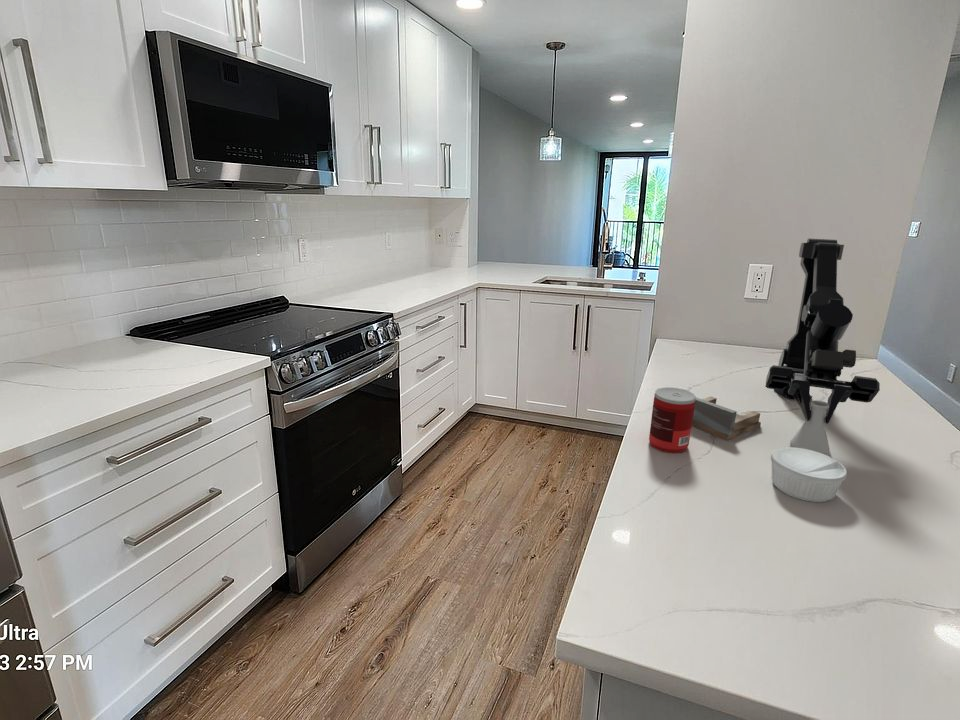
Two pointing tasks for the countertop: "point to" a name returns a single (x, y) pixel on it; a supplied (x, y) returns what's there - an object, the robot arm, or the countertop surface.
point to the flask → (813, 430)
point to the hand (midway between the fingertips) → (817, 421)
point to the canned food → (672, 419)
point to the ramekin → (806, 474)
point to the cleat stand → (722, 419)
